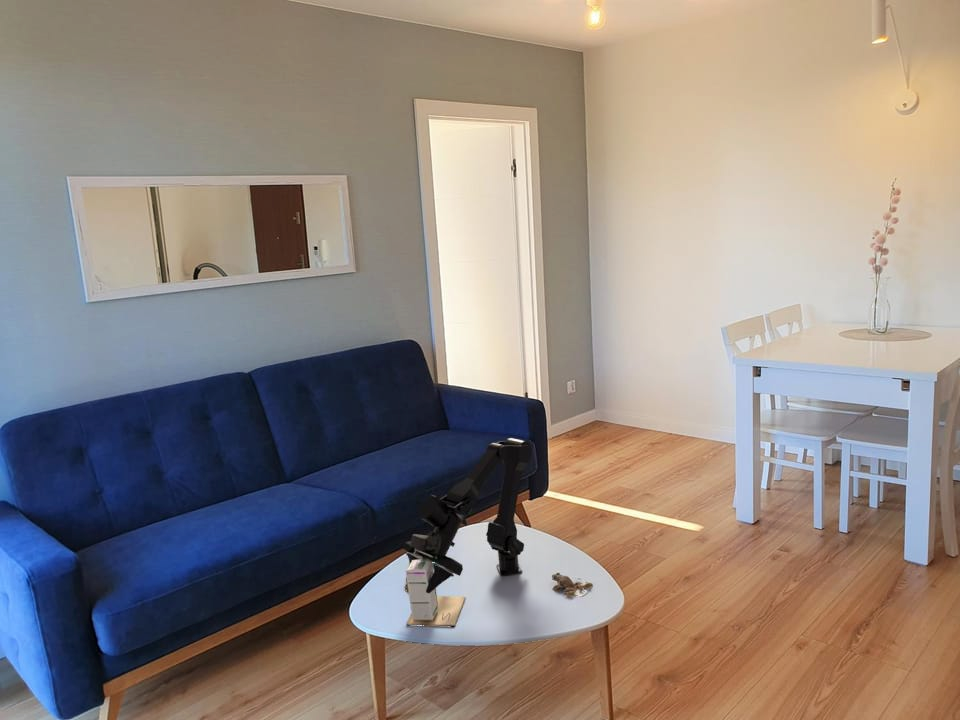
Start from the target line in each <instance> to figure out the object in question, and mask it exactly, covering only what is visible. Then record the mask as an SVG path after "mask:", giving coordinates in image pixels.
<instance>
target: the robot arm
mask: <svg viewBox="0 0 960 720" xmlns="http://www.w3.org/2000/svg"><path fill="white" fill-rule="evenodd" d="M532 453H533V446H532V445H531V444H530V442H529V441H527V440H523V439H519V438H518V439H517V438H514V437H509V438H507V439H506V440H501V441H497V442H492V443H489V444H488V445H487V447H486V451H485V452H484V453H483V455H482V456H481V457H480V459H479V460H478V461H477V463H476V464H475V465H474V467H472V470H471V471H470V472H469V474H468V475H467V476H466V478H465V479H463V480H462V481H460V482H459V483H456V484H454V486H453V487H452V488H451V489H450V490H448V492H447V494H445V495H444V496H442V497H440V498H439V497H438V496H436V495H432V494H431V495H430V496H429V498H427V499H424V500H423V501H422V502H421V503H420V504H419V506H418V508H417V515H418V517H419V518H420V519H421V520H423V521H424V522H426V523H428V524H429V525H431V526H432V527H434V530H433V531H432V530H430V531H429V532H428V533H427V535H425V534H424V535H423V534H416V533H414V534H412V536H411V540H409V541H406V542H405V543H404V545H403V547H402V550H403V551H405V555H406V556H407V557H408V566H409V565H410V563H411V561H412V560H421V559H425V558H426V559H428V560H432V561H433V562H435V563H434V564H433V575H432V578H431V580H430V582H429V584H428V587H427V590H426V592H427V593H430V592H432V591H433V590H434V589H435V588H438V587H439V586H440V585H441V584H442V583H444V582H445V581H447V580H448V579H449V578H451V577H453V578H454V577H455V575H457V576H458V577H460V576H461V575H462V573H463V570H464V568H463V564H462V563H461V562H458V561H457V560H455V559H454V558H452V557H450V556H447V554H448V551H449V549H450V547H453V548H454V546H455V545H456V543H455V542H454V539H455V537H456V535H457V533H458V531H459V528H460V527H461V525H462V526H465V527H466V526H467V525H468V522H467V520H466V516H465V515H463V514H470V513H471V512H472V511H473V509H474V508H475V506H476V504H477V502H478V500H479V494H480V490H481V489H482V488H483V486H484V484H485V483H486V481H487V480H488V479H489V478H490V476H491V475H492V474H493V472H494V471H495V469H496V468H497V467H498V466H499V465H500V462H501V461H502V462H503V463H502V464H503V465H504V474H503V481H502V486H501V491H500V498H499V503H498V508H497V514H496V517H495V518H494V520H493V521H492V522H491V521H489V522H488V525H487V531H486V534H485V536H486V541H487V543H488V545H490V548H491V550H494V551H497V554H498V563H497V564H496V568H497V571H498V572H499V575H500V576H501V577H504V576H509V575H516V574H521V573H523V569H522V567H521V566H520V564H519V556H520V555H521V554H522V552H524V548H525V543H524V542H522V541H521V540H519V539H518V538H517V537H518V535H517V534H518V529H517V526H516V522H515V515H516V514H515V513H516V509H517V502H518V496H519V490H520V485H521V481H522V474H523V471H524V470H525V468H526V467H527V465H528V464H529V463H530V461H531V456H532ZM435 557H437V559H435ZM437 564H438V565H437Z"/></svg>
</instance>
